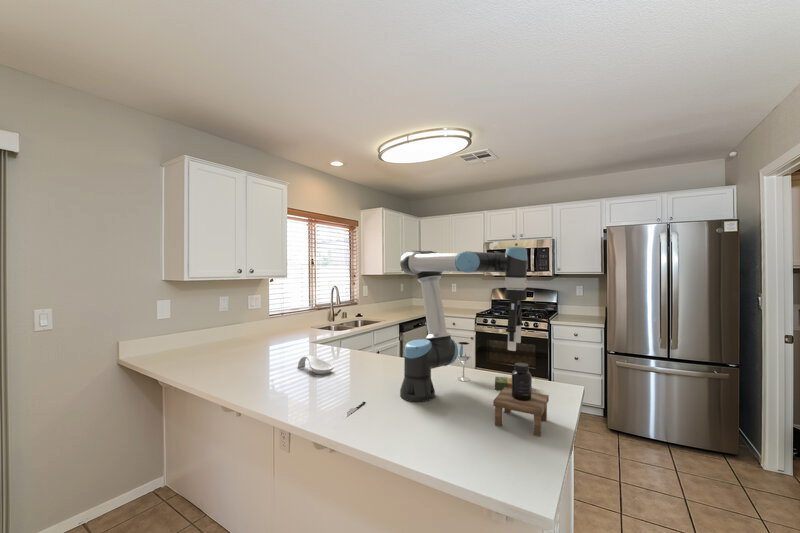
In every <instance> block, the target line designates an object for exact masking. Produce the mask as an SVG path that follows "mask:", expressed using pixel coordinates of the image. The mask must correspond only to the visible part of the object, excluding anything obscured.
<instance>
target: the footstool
mask: <svg viewBox="0 0 800 533" xmlns="http://www.w3.org/2000/svg"><path fill="white" fill-rule="evenodd" d="M549 401H550V400H549V394H546V393H545V394H544V393H539V392H533V391H532V394H531V399H530V400H528V401H521V400H517V399H514V398H513V397H512V388H507V387H504V389H503V390H500V392H499V393H498V394H497V395H496V396H495V398H494V399H493V401H492V402H493V405H492V406H493V407H494V426H495V427H499V428H501V427H502V425H503V413H505V414H511V412H512V411H516V412H519V413H522V414H523V413H524V414H528V415H529V414H530V415H533V436H536V437H541V435H542V422H547V418H548V415H547V414H548V404H549V403H548V402H549ZM503 410H504V411H503Z"/></svg>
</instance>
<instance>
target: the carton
mask: <svg viewBox="0 0 800 533" xmlns="http://www.w3.org/2000/svg"><path fill="white" fill-rule="evenodd" d="M504 387H507V388H512V377H507V376H504V377H503V376H495V378H494V390H496V391H502V390H503V389H504Z"/></svg>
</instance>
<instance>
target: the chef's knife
mask: <svg viewBox="0 0 800 533" xmlns="http://www.w3.org/2000/svg"><path fill="white" fill-rule="evenodd" d="M362 405H363V406H364V405H366V401H362V402H361V403H360V404H359V405H357V406H356V407H353V408H351V407H350V408H349V409H348V410H349V411H348V410H347V411H348V412H347V411H346V412H347V416H348V417H349V416H351V415H352V414H354V413H355V412H356V411H357V410H358V409H360V408H362V407H363V406H362ZM351 413H352V414H351ZM350 414H351V415H350Z"/></svg>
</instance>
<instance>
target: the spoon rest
mask: <svg viewBox="0 0 800 533" xmlns="http://www.w3.org/2000/svg"><path fill="white" fill-rule="evenodd" d="M306 360H308V364H309V366H310V369H311V371H312V372H314V373H315V374H316V375H326V374H329V373H331V372H332V371H333V369H335V368H334V367H335V365H333V364H332V363H331V362H328V361H325V360H323V359H320V358H318V357H316V356H313V355H311V354H310V355H306V356H302V357H301V358H300V359H299V361H298V364H297V368H302V367H305V366H306Z"/></svg>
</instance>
